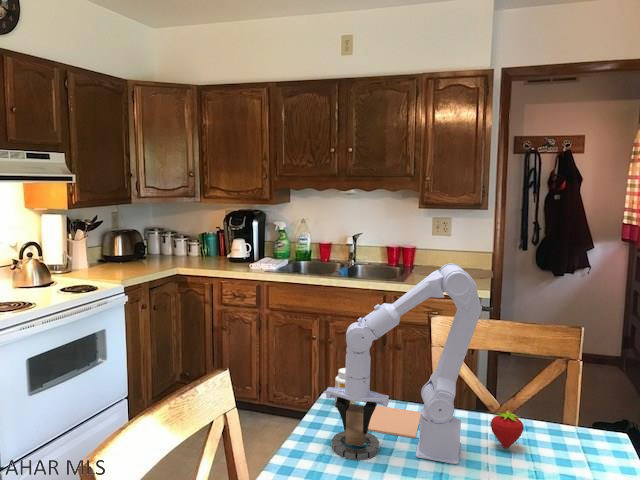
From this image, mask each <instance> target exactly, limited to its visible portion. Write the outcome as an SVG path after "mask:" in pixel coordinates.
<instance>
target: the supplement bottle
mask: <svg viewBox="0 0 640 480" xmlns="http://www.w3.org/2000/svg"><path fill="white" fill-rule="evenodd" d="M345 370H346V367H343V368H339V369H338V373H337V375H336V376H335V379H334V381H335V383H334V384H335V385H334V388H345ZM336 402H337V398H334V406H336ZM350 404H355V405H356V401H351V400H350Z"/></svg>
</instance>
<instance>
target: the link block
mask: <svg viewBox="0 0 640 480" xmlns="http://www.w3.org/2000/svg"><path fill="white" fill-rule="evenodd" d="M364 406H365V405H360V404H356V403H355V404H350V405H349V407H348V409H347V411H346V441H345V442H344V444H346V445H351V446H357V447H363V446H364V444H365V442H364V441H365V439H366V434H364V433H363V428H364V410H363V408H364Z"/></svg>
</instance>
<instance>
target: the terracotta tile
mask: <svg viewBox="0 0 640 480" xmlns="http://www.w3.org/2000/svg"><path fill="white" fill-rule="evenodd" d="M420 415H421V411H416V410H409V409H404V408H403V409H402V408H395V407H391V406H389V407H388V406H387V407H384V406H383V405H377V406H376V408H375V410H374V412H373V414H372V416H371V419H370V422H369V427H368V432H374V433H380V434H386V435H393V436H397V437H404V438H410V439H416V438H417V435H418V429H419V427H420Z"/></svg>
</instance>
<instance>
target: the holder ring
mask: <svg viewBox="0 0 640 480" xmlns="http://www.w3.org/2000/svg"><path fill="white" fill-rule="evenodd" d="M345 442H346V431H345V430H342V431H340V432H338V433H335V434H334V435H333V437H332V439H331V449H332V450H333V453H335V454H336V455H337V456H338V457H340V458H343V459H345V460H350V461H351V460H352V461H364V460H365V461H366V460H368V459H372V458H374V457H375V456H377V454H379V451H380V447H381V445H380V444H381V443H380V440H379V439H378V438H377V436H376V435H374V434H372V433H370V432H369V431H368V432H367V434H366V439H365V441H364V444H365V443H366V444H368V446H366V447H365V448H358V449H357V448H350V447H349V448H348V447H347V446H345V445H344V444H343V443H345Z"/></svg>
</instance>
